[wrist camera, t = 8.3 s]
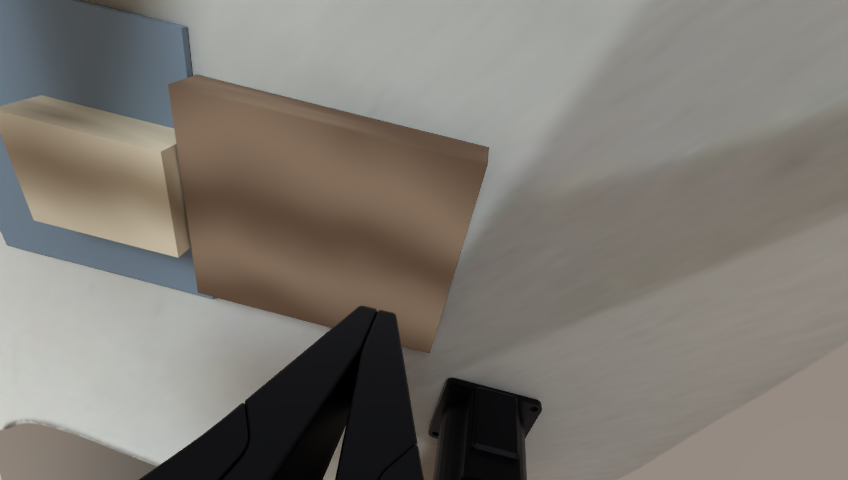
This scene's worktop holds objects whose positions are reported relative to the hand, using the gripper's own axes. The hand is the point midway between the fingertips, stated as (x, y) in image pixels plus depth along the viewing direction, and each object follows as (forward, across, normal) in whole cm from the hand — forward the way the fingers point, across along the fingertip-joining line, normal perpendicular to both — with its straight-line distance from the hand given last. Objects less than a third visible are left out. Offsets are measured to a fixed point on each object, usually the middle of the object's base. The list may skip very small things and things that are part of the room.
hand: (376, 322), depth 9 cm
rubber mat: (+12, +19, +5) cm, 23 cm away
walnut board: (+12, +5, +5) cm, 14 cm away
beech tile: (+10, +16, +5) cm, 20 cm away
